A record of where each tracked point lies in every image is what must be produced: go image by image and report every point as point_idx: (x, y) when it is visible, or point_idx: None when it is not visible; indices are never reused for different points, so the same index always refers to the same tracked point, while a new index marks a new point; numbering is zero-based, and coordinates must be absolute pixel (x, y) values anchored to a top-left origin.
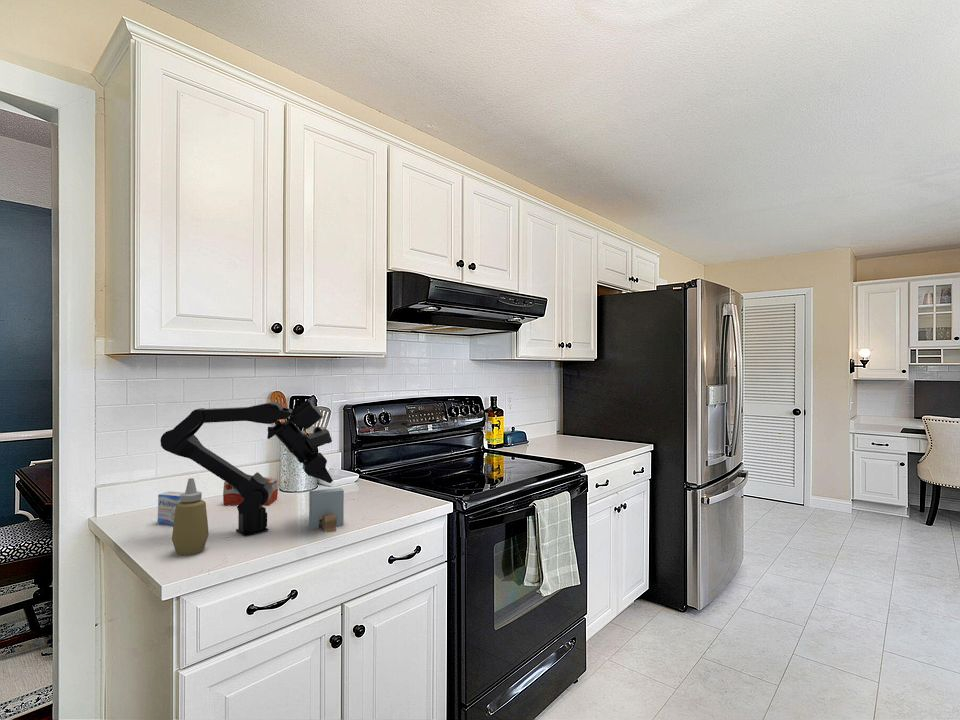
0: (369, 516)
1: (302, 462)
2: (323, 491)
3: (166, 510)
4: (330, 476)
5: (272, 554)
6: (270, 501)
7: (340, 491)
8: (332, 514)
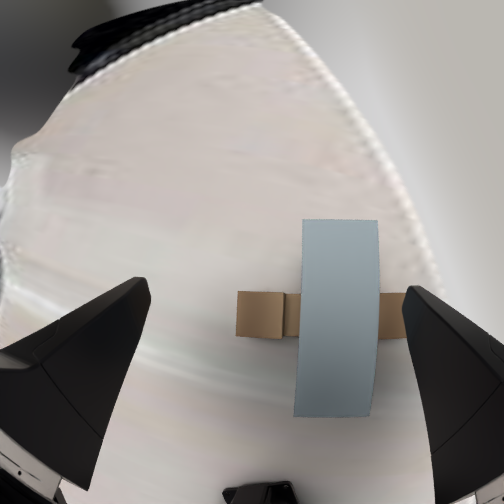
0: (287, 156)
1: (86, 490)
2: (350, 343)
3: None
4: (452, 308)
5: None
6: None
7: (377, 241)
8: (385, 301)
